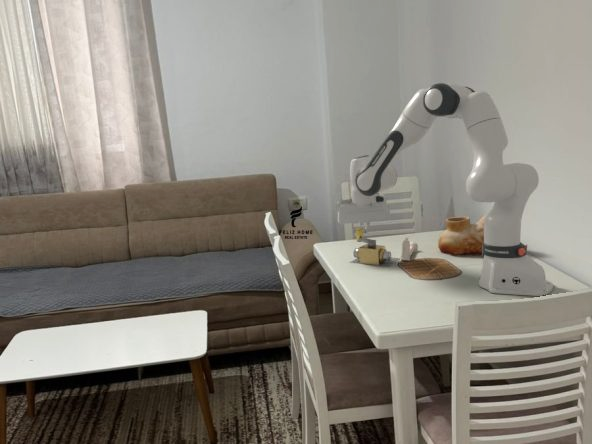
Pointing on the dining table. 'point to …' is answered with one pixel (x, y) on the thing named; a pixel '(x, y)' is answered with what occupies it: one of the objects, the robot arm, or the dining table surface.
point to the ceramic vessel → (462, 237)
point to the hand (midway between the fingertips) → (364, 233)
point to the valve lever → (362, 239)
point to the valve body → (372, 254)
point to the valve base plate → (380, 264)
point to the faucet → (408, 249)
